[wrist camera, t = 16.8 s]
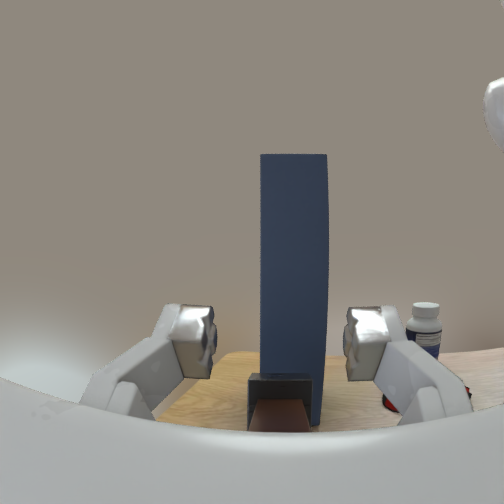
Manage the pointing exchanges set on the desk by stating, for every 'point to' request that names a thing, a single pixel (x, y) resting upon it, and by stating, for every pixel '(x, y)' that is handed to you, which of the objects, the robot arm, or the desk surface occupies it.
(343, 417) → the desk surface
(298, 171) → the stand
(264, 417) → the walnut bar
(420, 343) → the pill bottle
